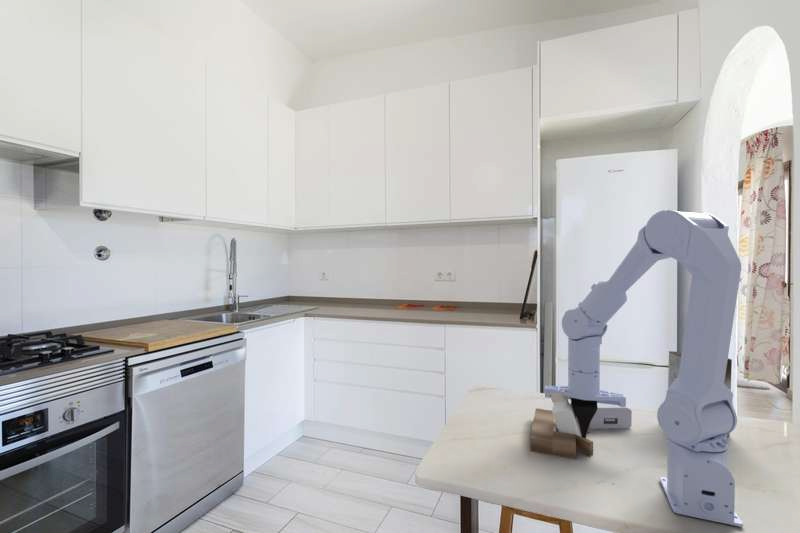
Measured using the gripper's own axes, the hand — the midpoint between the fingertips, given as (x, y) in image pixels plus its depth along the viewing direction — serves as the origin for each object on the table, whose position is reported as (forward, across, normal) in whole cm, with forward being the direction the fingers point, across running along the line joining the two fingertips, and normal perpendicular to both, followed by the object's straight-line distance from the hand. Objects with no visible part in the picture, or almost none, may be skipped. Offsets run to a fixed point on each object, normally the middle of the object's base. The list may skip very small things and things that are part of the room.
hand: (583, 436), depth 78 cm
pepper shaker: (+1, +2, 0) cm, 2 cm away
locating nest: (+1, +4, 0) cm, 4 cm away
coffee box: (+1, -23, -16) cm, 28 cm away
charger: (+2, -3, -16) cm, 16 cm away
